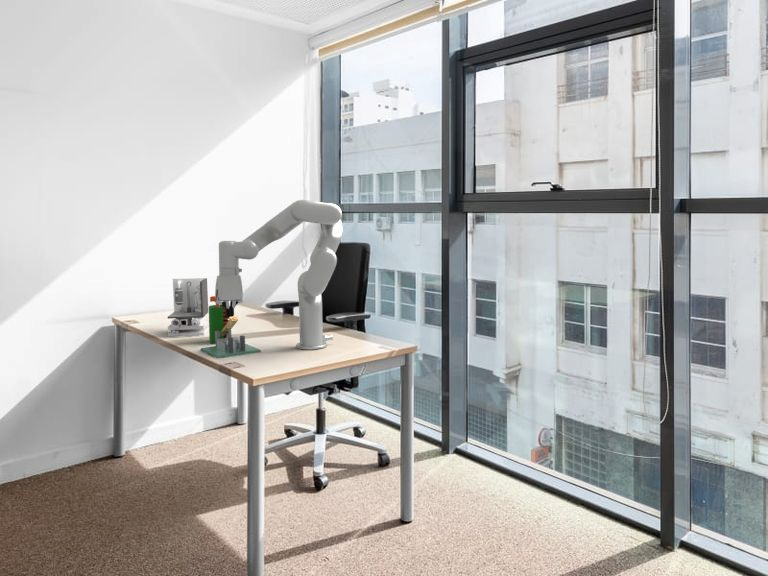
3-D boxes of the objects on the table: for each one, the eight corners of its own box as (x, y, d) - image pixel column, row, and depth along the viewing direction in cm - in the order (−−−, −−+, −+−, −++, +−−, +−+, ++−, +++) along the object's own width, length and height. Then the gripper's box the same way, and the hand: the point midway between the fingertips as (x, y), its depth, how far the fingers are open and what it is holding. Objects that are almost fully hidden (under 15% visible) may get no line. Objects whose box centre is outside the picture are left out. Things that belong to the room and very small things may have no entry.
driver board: (242, 344, 258) (241, 328, 257) (260, 352, 244) (260, 334, 243) (200, 350, 248) (200, 333, 247) (217, 358, 233) (216, 340, 232)
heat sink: (231, 344, 254) (231, 328, 254) (243, 349, 245) (243, 333, 244) (213, 346, 250) (212, 331, 249) (224, 351, 240) (224, 335, 239)
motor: (231, 343, 261) (229, 297, 259) (209, 344, 259) (208, 298, 256) (230, 338, 271) (228, 294, 269) (209, 340, 268) (207, 295, 266)
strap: (227, 334, 251) (225, 330, 252) (237, 320, 241) (236, 316, 242) (220, 335, 250) (218, 331, 250) (230, 321, 239) (229, 316, 240)
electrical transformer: (209, 329, 294) (207, 278, 291) (202, 337, 275) (200, 282, 272) (175, 330, 292) (173, 279, 289) (166, 338, 273) (164, 283, 270)
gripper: (242, 270, 248) (243, 315, 250) (207, 272, 239) (208, 318, 241) (250, 272, 242) (251, 317, 244) (214, 273, 233) (215, 320, 235)
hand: (229, 317), depth 242 cm, fingers closed
